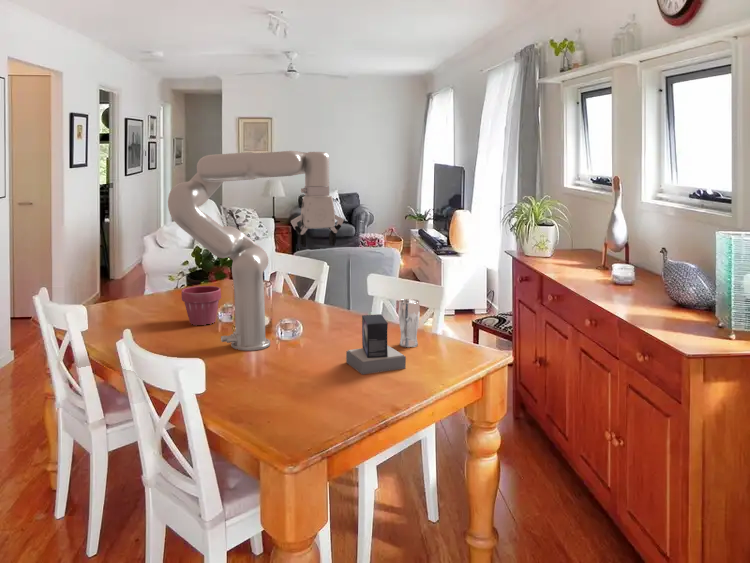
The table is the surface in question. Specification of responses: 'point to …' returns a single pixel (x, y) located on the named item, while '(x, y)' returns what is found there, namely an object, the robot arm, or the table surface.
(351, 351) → the block
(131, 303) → the table surface
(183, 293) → the plant pot
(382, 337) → the small box
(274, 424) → the table surface
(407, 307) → the beer glass
